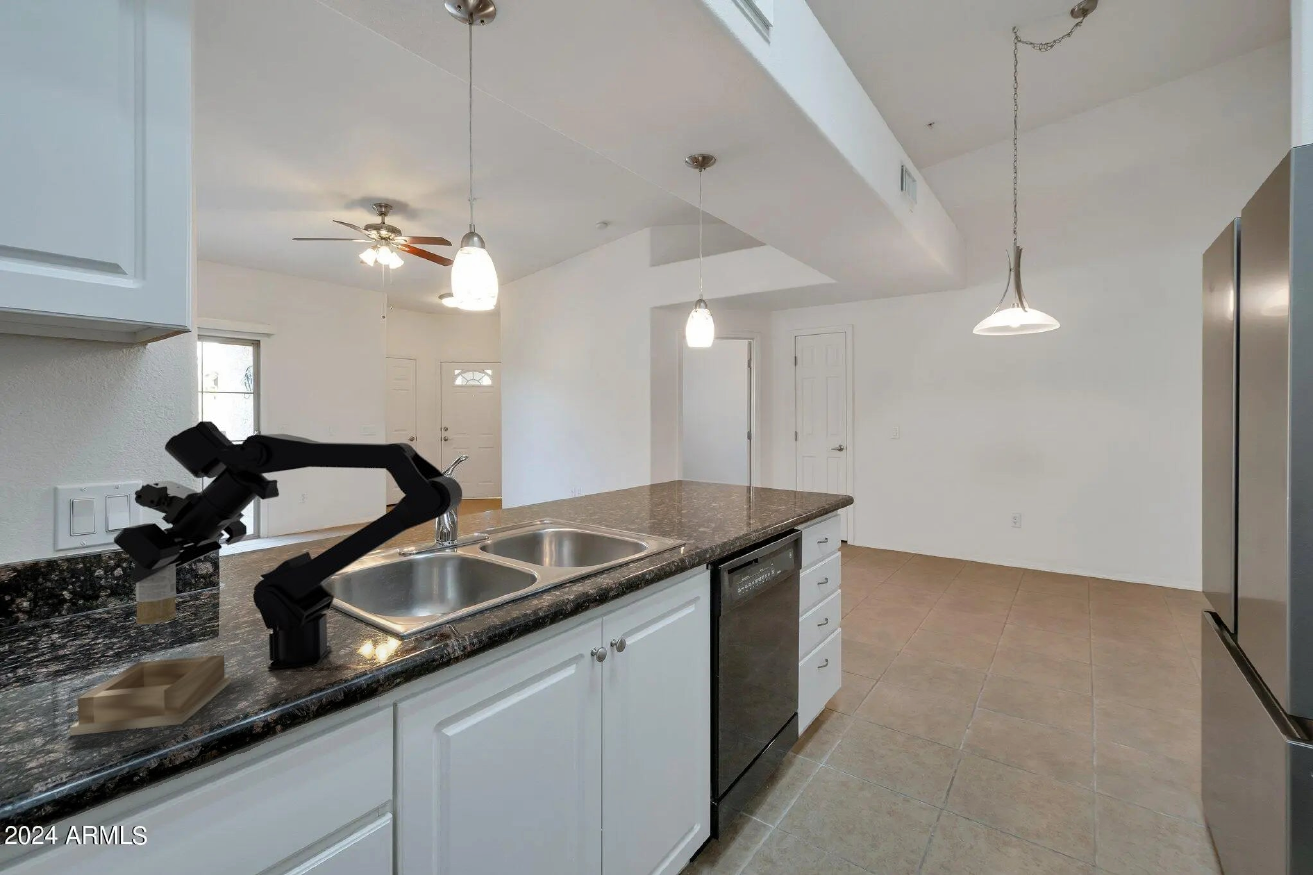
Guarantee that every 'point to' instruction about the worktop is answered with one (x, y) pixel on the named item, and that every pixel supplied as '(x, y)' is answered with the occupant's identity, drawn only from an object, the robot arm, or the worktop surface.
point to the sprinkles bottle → (156, 597)
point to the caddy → (151, 695)
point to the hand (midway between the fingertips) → (146, 576)
